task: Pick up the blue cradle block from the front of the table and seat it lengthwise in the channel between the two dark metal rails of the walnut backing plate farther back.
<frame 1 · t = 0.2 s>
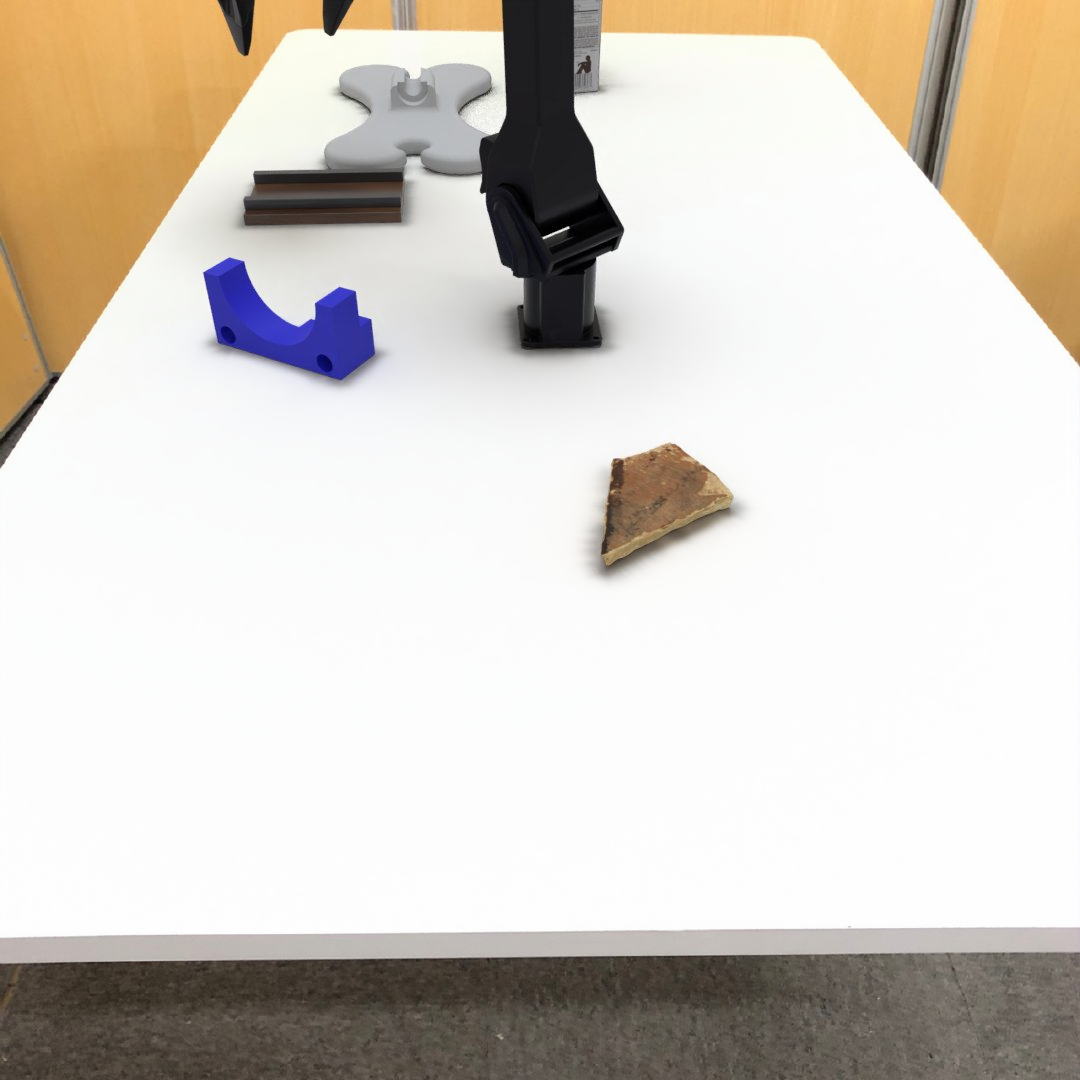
hand: (287, 43, 95), 15 cm above the table, tool pointing down, fingers open, 9 cm apart
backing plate: (328, 203, 106), on the table
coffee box: (565, 84, 137), on the table
holder: (415, 124, 125), on the table
shard: (667, 519, 68), on the table
blue cradle block: (296, 350, 84), on the table
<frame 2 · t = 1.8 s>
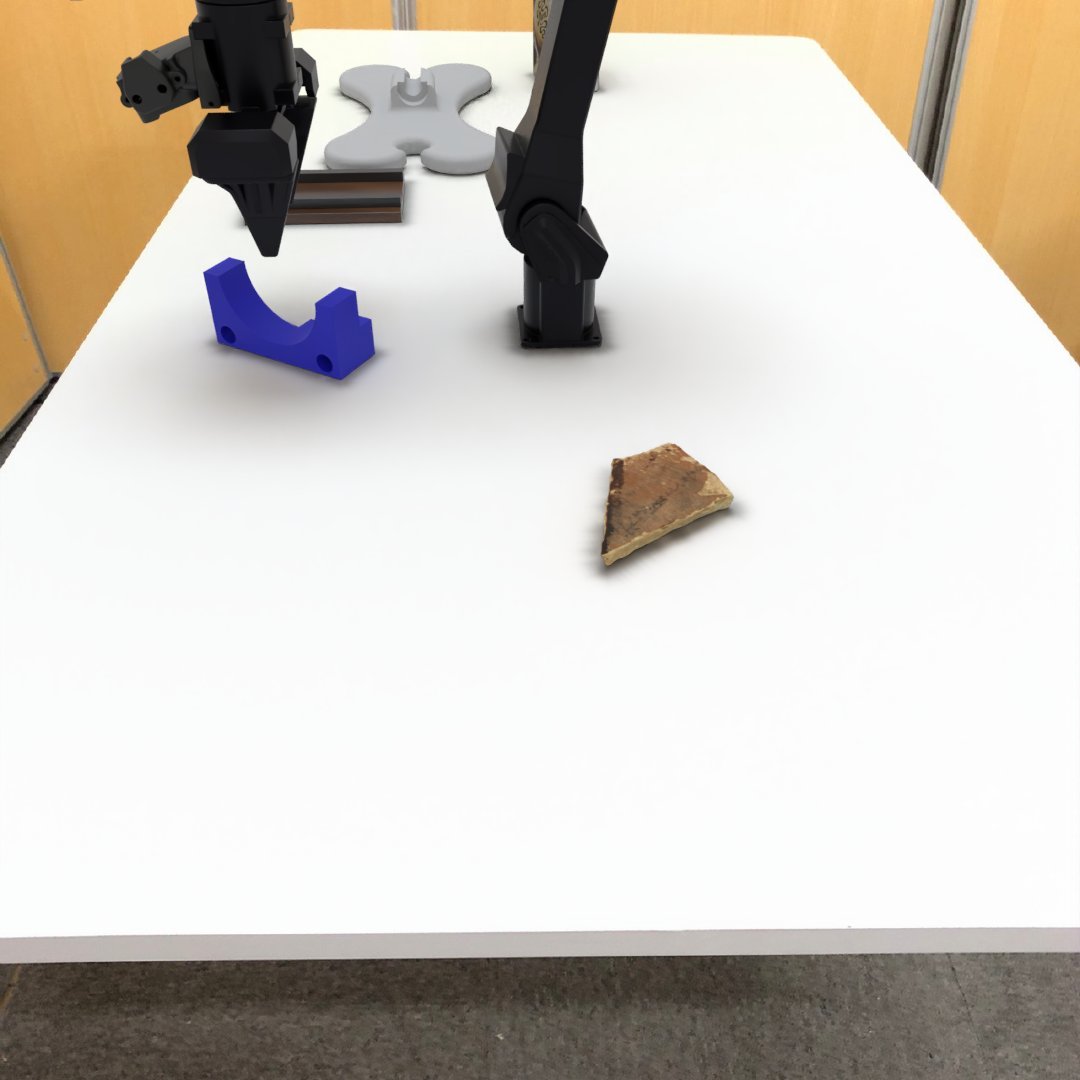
hand: (278, 228, 77), 10 cm above the table, tool pointing down, fingers open, 9 cm apart
nothing on the table moved.
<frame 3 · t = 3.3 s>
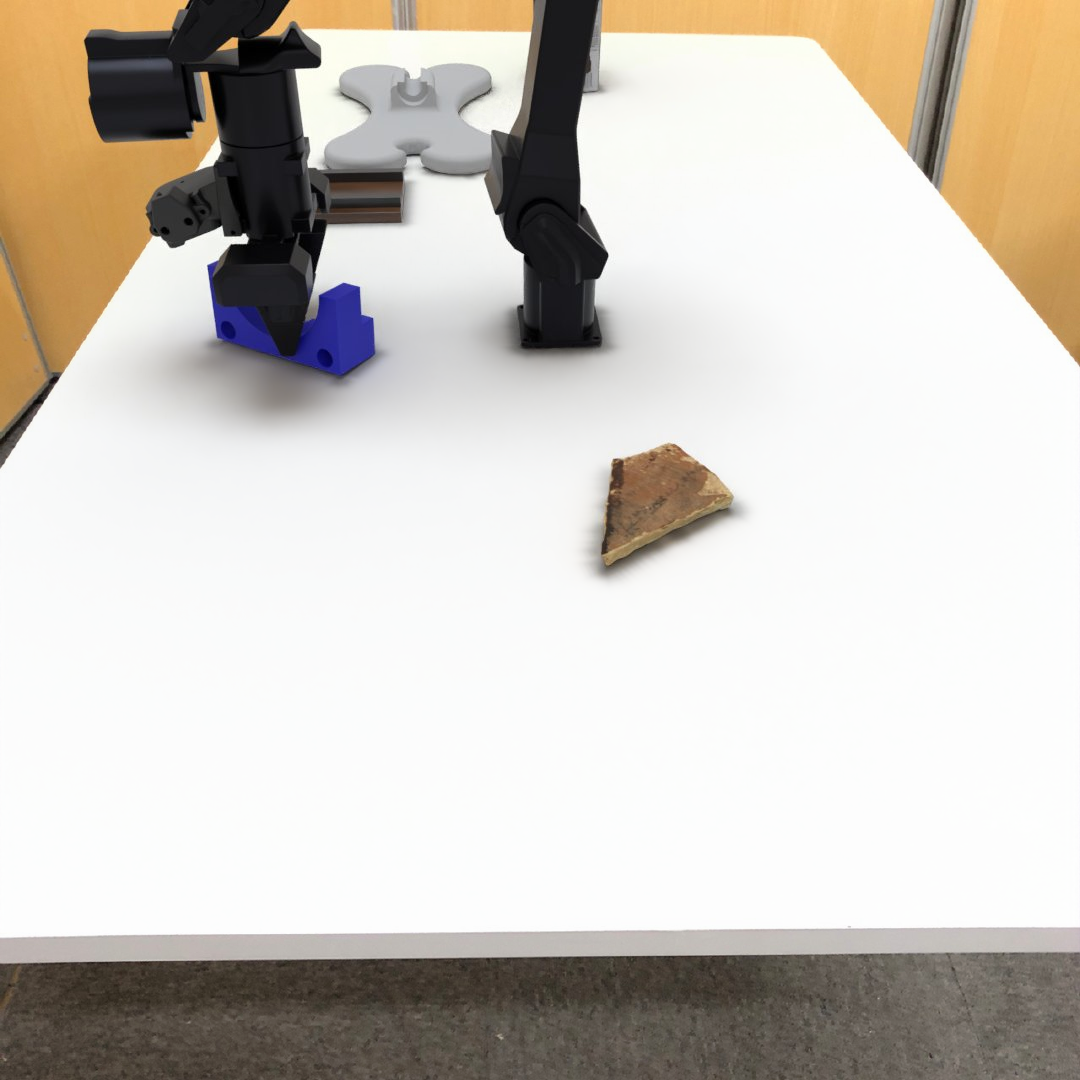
hand: (292, 336, 83), 1 cm above the table, tool pointing down, fingers closed on blue cradle block, 5 cm apart
blue cradle block: (295, 348, 84), on the table, touching gripper
everything else where it was.
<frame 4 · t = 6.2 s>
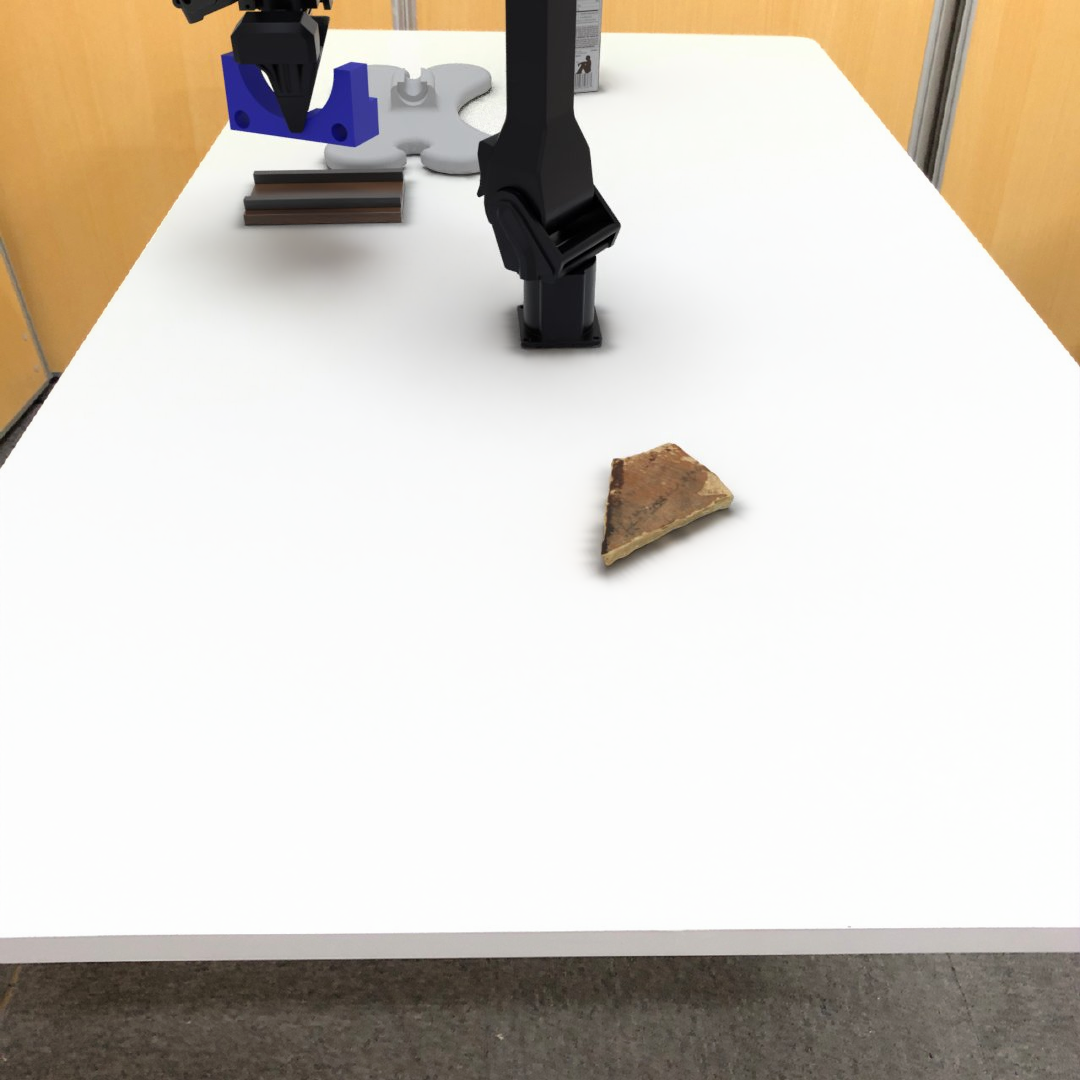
hand: (299, 121, 91), 11 cm above the table, tool pointing down, fingers closed on blue cradle block, 5 cm apart
blue cradle block: (305, 134, 92), point 10 cm above the table, touching gripper
everything else where it was.
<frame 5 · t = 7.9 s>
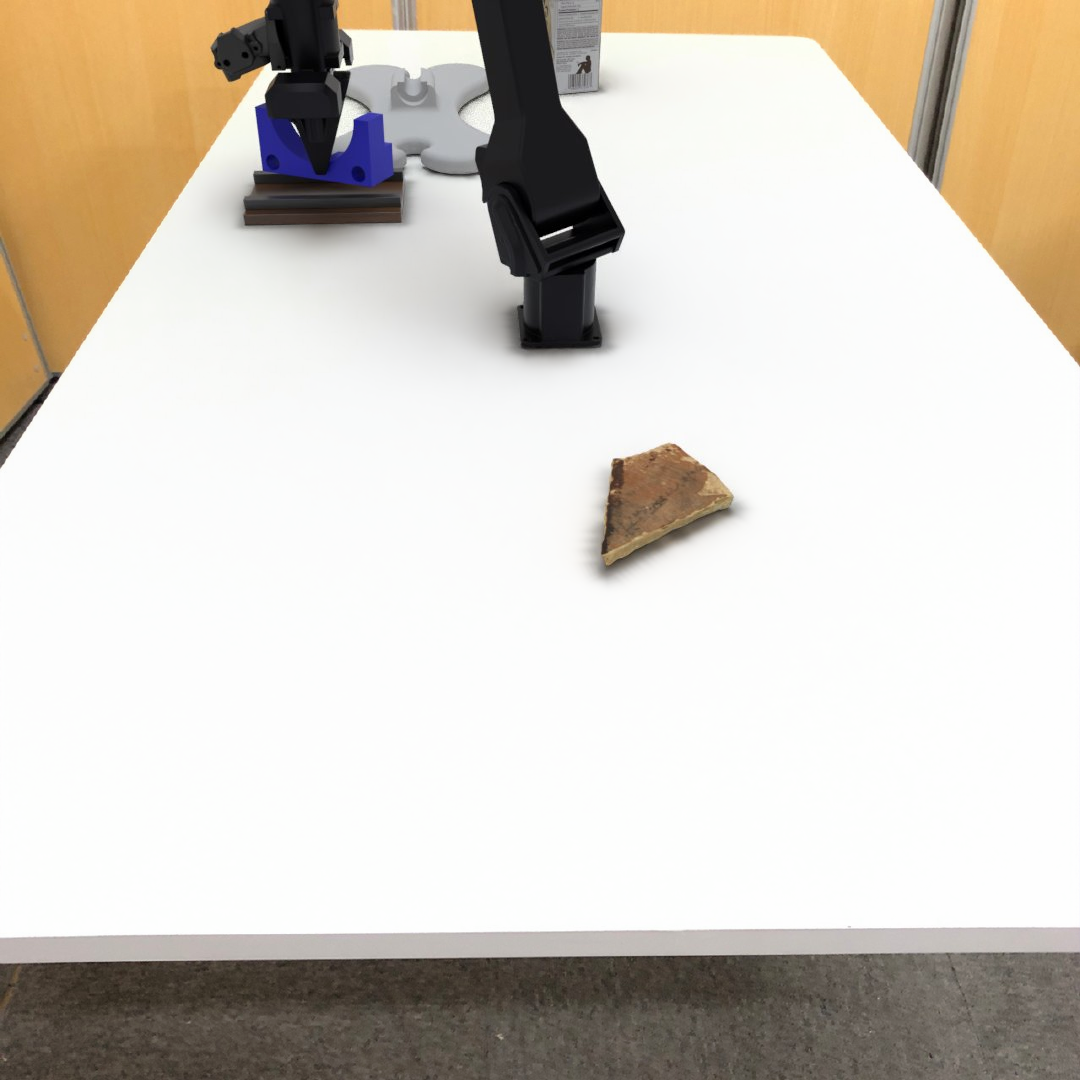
hand: (323, 164, 103), 4 cm above the table, tool pointing down, fingers closed on blue cradle block, 5 cm apart
blue cradle block: (328, 174, 104), point 3 cm above the table, touching gripper
everything else where it was.
when the fingers open (3 cm above the table, at t = 8.9 s): blue cradle block stays where it is, resting on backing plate.
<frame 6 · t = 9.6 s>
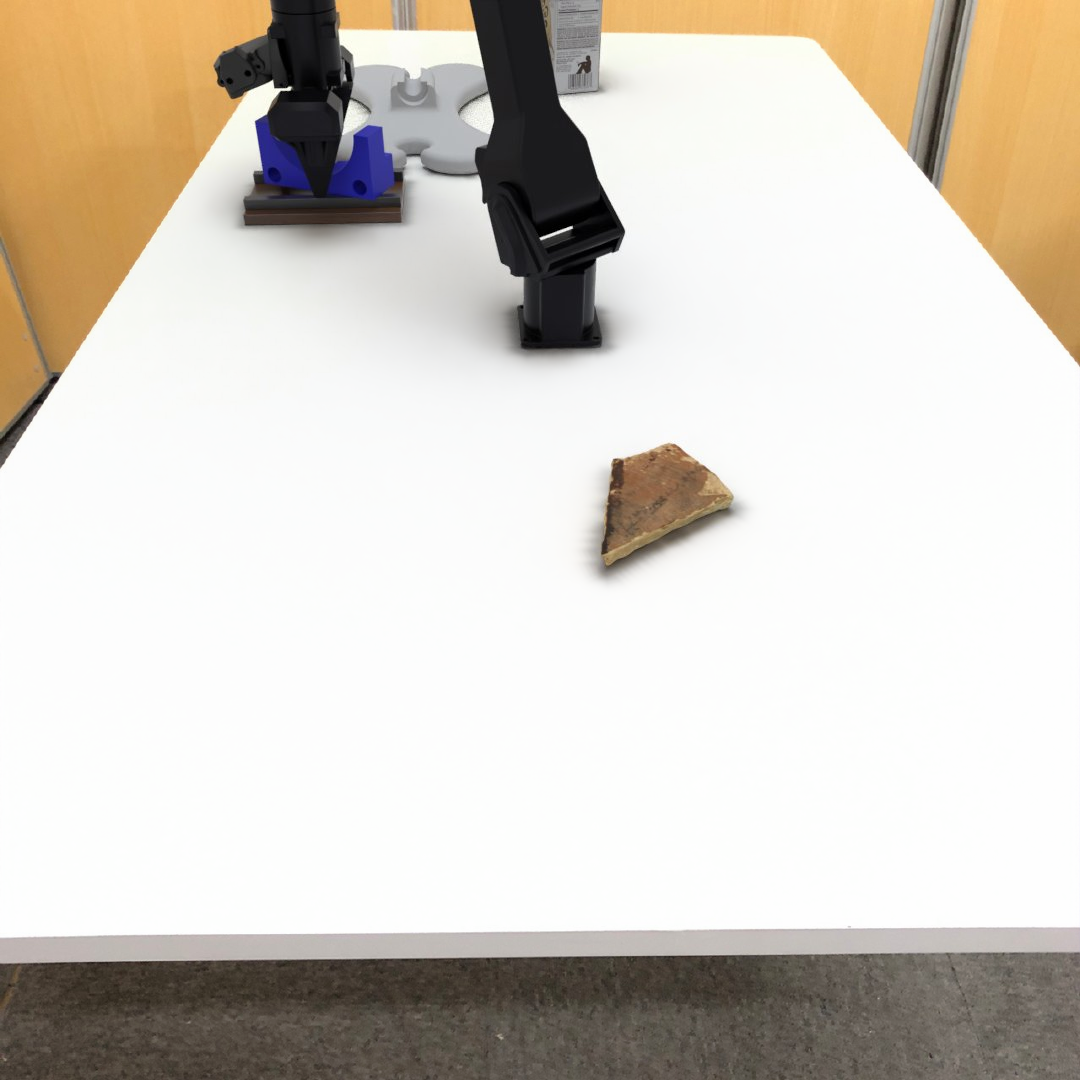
hand: (324, 179, 104), 2 cm above the table, tool pointing down, fingers open, 9 cm apart
blue cradle block: (329, 185, 105), point 2 cm above the table, touching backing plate
everything else where it was.
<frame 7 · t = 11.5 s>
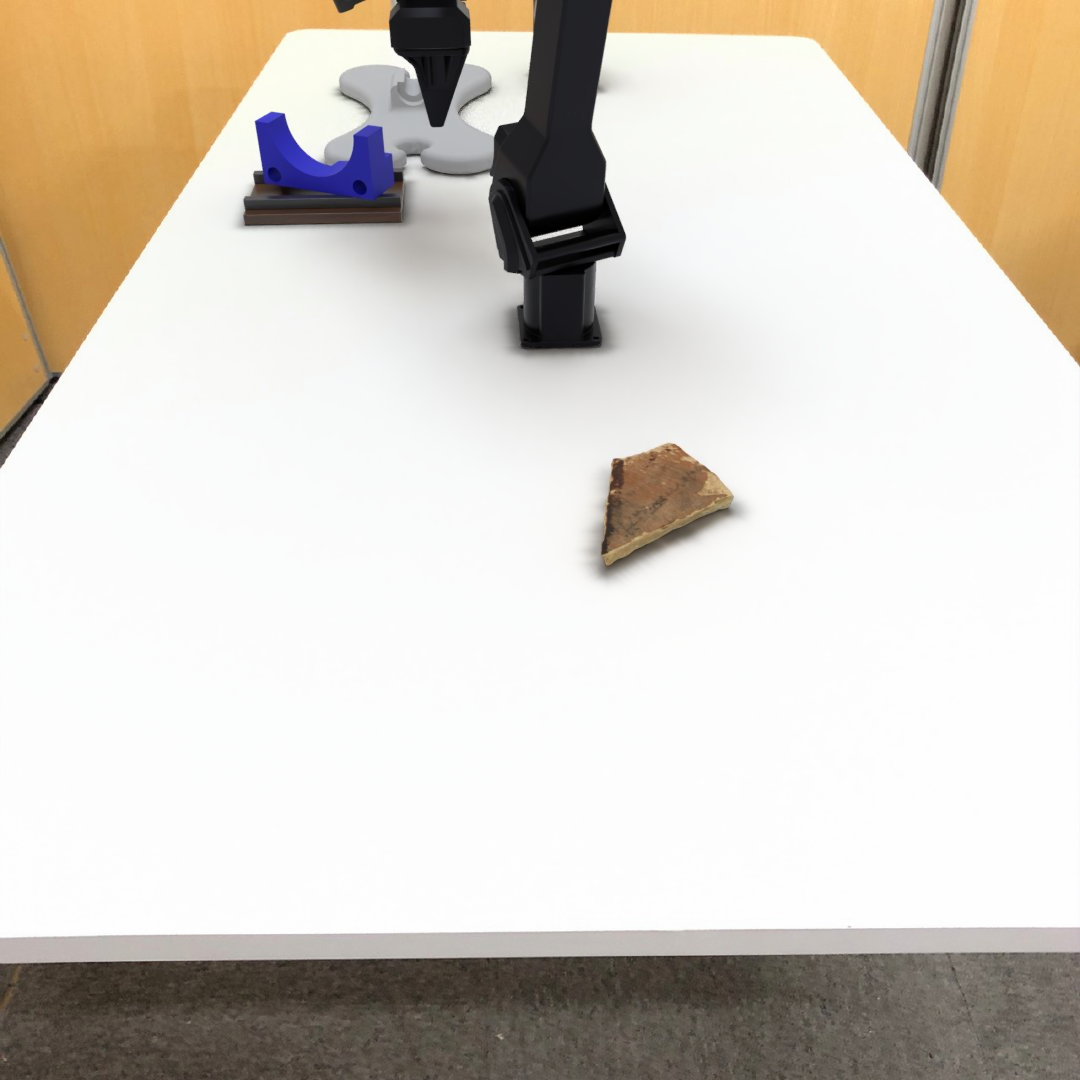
hand: (436, 109, 93), 12 cm above the table, tool pointing down, fingers open, 9 cm apart
nothing on the table moved.
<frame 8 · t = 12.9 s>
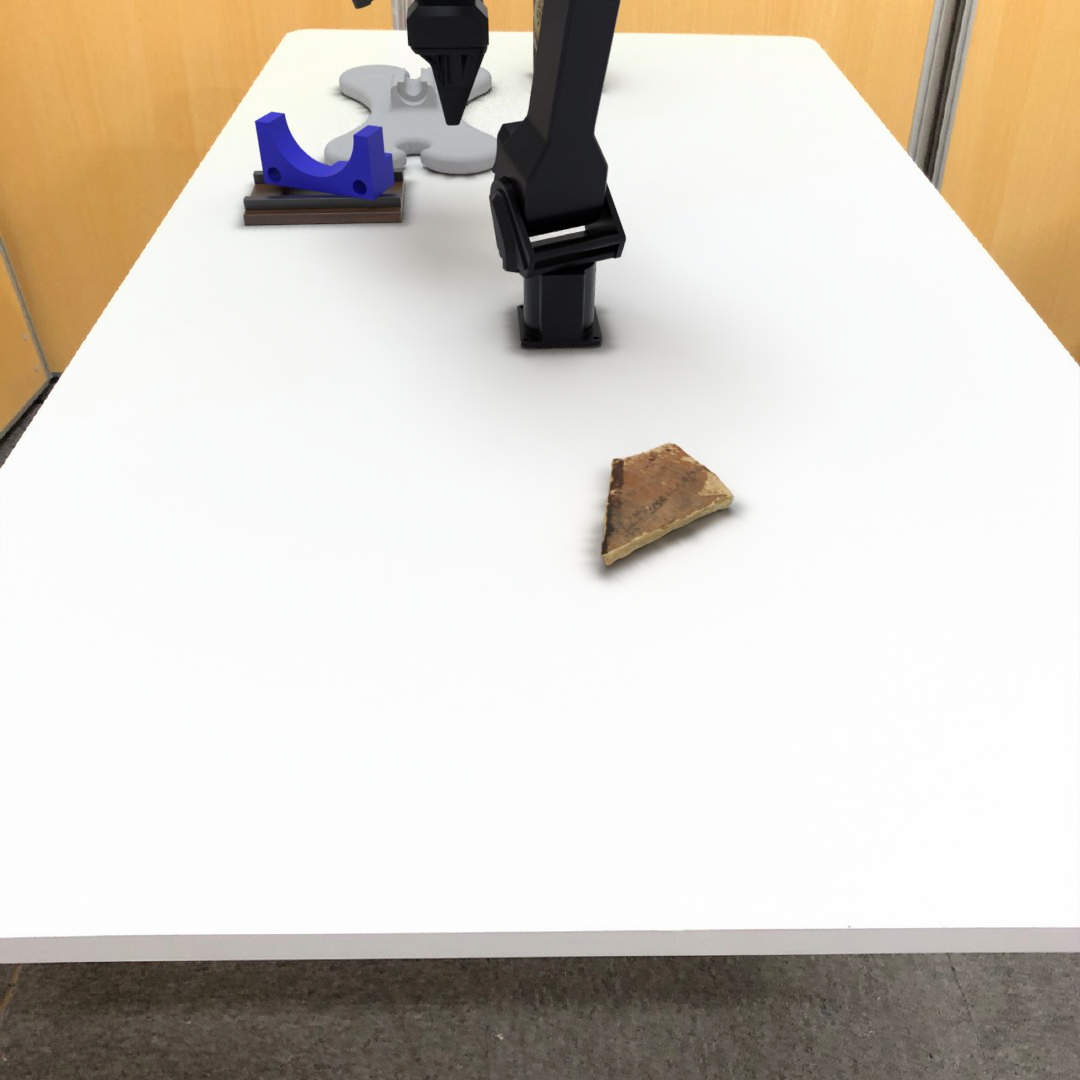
hand: (452, 107, 92), 12 cm above the table, tool pointing down, fingers open, 9 cm apart
nothing on the table moved.
at the end: blue cradle block 0.4 cm off-centre on the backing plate, point 1.8 cm above the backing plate's base; blue cradle block tilted 0°; the gripper is holding nothing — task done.
